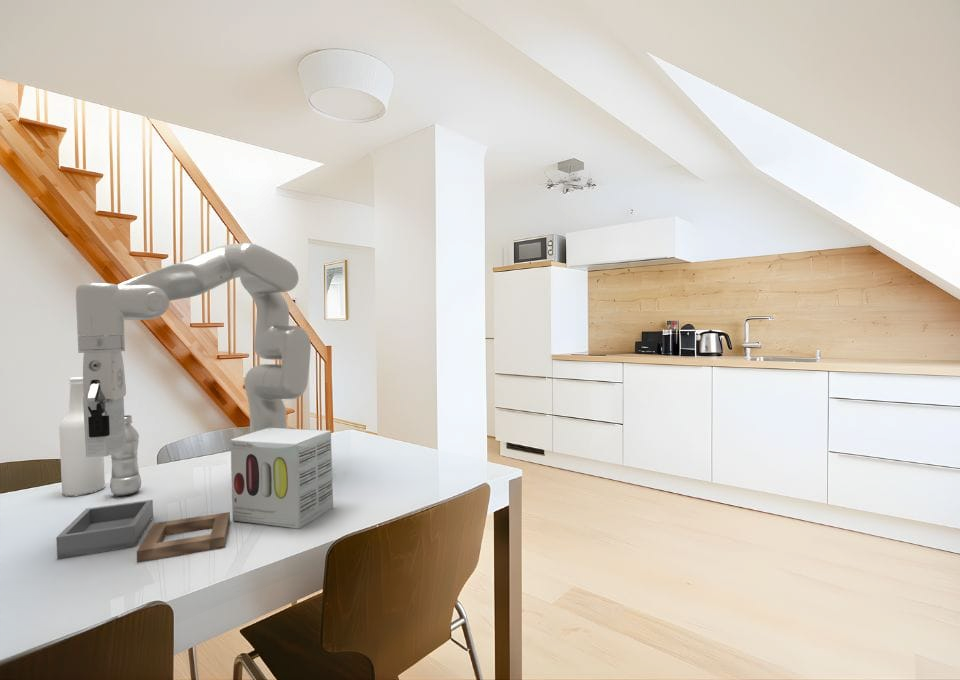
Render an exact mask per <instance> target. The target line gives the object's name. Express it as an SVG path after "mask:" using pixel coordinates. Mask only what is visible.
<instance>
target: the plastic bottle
mask: <svg viewBox="0 0 960 680" xmlns="http://www.w3.org/2000/svg"><path fill="white" fill-rule="evenodd" d="M124 416H125V434H126V449H124V450H121V451H119V452H116V453H114V454H111V455H110V457H111V475H110V476H111V478H110V483H109V489H110V492H111V494H113V496H128V495H132V494H134V493H137V492H139V491H140V489H141V487H142V477H141V475H140V470H139V464H138V463H139V462H138V449H139V438H140V434H139V432H138V430H136V429H135V427H134V426H132V423H133V420H132V419H133V418H132V415H125V414H124Z"/></svg>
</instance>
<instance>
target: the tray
mask: <svg viewBox="0 0 960 680" xmlns="http://www.w3.org/2000/svg"><path fill="white" fill-rule="evenodd" d="M152 518H153V519H154V502H153V499H149V500H140V501H133V502H126V503H120V504H119V503H118V504H111V505H103V506H96V507H95V506H94V507H87V508H85V509H84V510H83V511H82V512H81V513H80V514H79V515H78V516H77V517H76V518H75V519H74V520H73V521H72V522H71V523H70V524H69V525H68V526H67V527H66V528H64V530H62V532H60V533H59V534H58V535H57V536H56V556H57V560H60V559H66V558H73V557H77V556H79V557H80V556H84V555H92V554H96V553H97V554H98V553H103V552H109V550H110V551H115V549H116V550H121V549H128V547H129V548H134V547H133V546H135V547H137V544H138V543H139V542H140V540H139V539H141V538H142V536H143V535H144V533H145V532H146V530H147V528H148V527H147V526H149V525H150V524H149V523H151V522H152V520H153V519H152ZM151 519H152V520H151ZM150 521H151V522H150ZM144 531H145V532H144ZM137 542H138V543H137Z"/></svg>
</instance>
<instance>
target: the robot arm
mask: <svg viewBox="0 0 960 680" xmlns="http://www.w3.org/2000/svg"><path fill="white" fill-rule="evenodd" d="M237 278H239V279H240V282H241V285H242V287H243V288H244V290H246V292H248V294H249V295H250V296H251V298H252V299H253V301H254V304H255V306H256V321H255V322H256V323H255V333H254V334H255V335H254V341H253V342H254V347H253V348H254V352H255V355H257V356H258V357H259V358H260V359H264V360H273V361H275V360H276V361H278V360H281V364H278V363H277V364H268V363H265V364H258V365H255V366H253V367H252V368H250V369H249V370H248V371H247V372H246V374H245V376H244V389H245V393H246V396H247V401H248V409H249V434H250V433H253V432H256V431H260V430H263V429H267V428H286V429H288V427H287V426H288V425H287V421H288V420H287V409H286V406H285V403H284V402H283V400H296V399H299V398H300V397H301V396H302V395H304V393H305V392H306V389H307V386H308V381H309V374H310V373H309V371H310V362H311V351H312V350H311V348H312V347H311V346H312V345H311V339H310V335H309V333H307V331H306V330H305V329H304V328H303V327H301V326H298V325H290V324H289V323H290V322H289V321H290V309H289V305H288V302H287V301H286V298H285V297H284V296H283V294H282V293H286V292H287V293H288V292H290V291H292V290H294V289H295V288H296V287H297V285H298V282H299V273H298V270H297V268H296V266H295V265H294V264H293V263H292V262H291V261H289V260H287V259H285V258H283V257H282V256H279V255H278V254H276V253H274V252H272V251H271V250H269V249H268V248H267V249H266V248H265V247H262V246H261V245H258V244H255V243H253V242H241V243H232V244H224V245H221V246H220V245H219V246H218V247H215V248H213V249H210V250H207V251H206V252H202V253H201V254H199V255H196V256H194V257H191V258H188V259H185V260H184V261H181V262H180V261H179V262H177V263H174V264H171V265H168V266H165V267H162V268H160V269H156V270H154V271H151V272H148V273H144V274H142V275H138V276H136V277H133V278H130V279H128V280H125V281H123V282H121V283H118V284H115V283H109V282H107V283H106V282H84V283H79V284H78V285H77V287H76V289H75V302H76V303H75V304H76V305H75V307H76V309H75V310H76V327H77V328H76V331H77V333H76V334H77V350H78V351H77V352H78V354H83V357H82V358H83V359H82V360H83V361H82V377H83V394H84V400H85V401H86V402H87V403H88V425H89V437H91V438H92V437H104V436H108V435H110V426H109V415H107V408H108V399H110V401H112V402H113V401H116V400H119V399H121V398H122V397H126V395H127V387H126V376H125V375H126V373H125V366H124V358H123V354H122V352H126V337H125V321H147V320H154V319H157V318H160V317H161V316H163V315H165V314H166V312H167V311H168V309H169V308H170V307H169V306H170V302H171V301H177V300H182V299H189V298H192V297H196V296H199V295H203V294H206V293H207V292H210V291H211V290H213V289H216V288H218V287H219V286H222V285H223V284H226V283H227V282H230V281H232V280H234V279H237ZM101 396H104V400H98V397H101ZM100 404H103V407H102V406H101V405H100Z"/></svg>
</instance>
